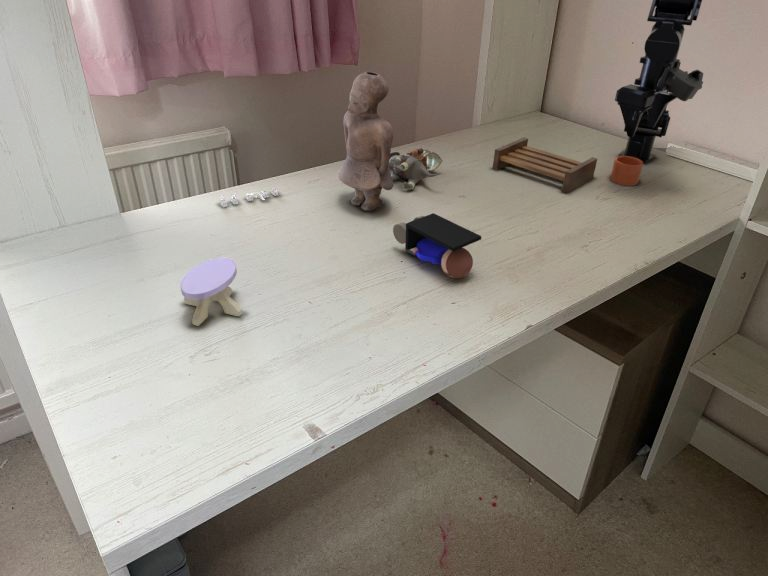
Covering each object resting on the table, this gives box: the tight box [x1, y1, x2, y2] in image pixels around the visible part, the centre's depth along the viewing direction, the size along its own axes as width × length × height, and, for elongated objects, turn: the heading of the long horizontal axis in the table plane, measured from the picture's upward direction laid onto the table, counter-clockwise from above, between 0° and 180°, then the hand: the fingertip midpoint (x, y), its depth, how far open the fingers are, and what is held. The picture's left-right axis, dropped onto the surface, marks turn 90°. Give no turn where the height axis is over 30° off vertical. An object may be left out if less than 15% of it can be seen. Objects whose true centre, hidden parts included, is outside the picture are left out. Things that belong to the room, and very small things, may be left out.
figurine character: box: [392, 212, 482, 279], centre depth 99 cm, size 7×8×15 cm
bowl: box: [609, 155, 644, 186], centre depth 133 cm, size 6×6×4 cm
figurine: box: [388, 147, 443, 190], centre depth 131 cm, size 20×6×17 cm
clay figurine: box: [337, 71, 394, 212], centre depth 112 cm, size 13×10×25 cm
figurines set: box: [219, 188, 279, 208], centre depth 118 cm, size 12×3×3 cm, turn 122°
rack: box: [491, 137, 598, 194], centre depth 134 cm, size 12×18×4 cm, turn 48°
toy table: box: [180, 256, 243, 327], centre depth 86 cm, size 10×9×6 cm
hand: (640, 132), depth 126 cm, fingers open, 9 cm apart
